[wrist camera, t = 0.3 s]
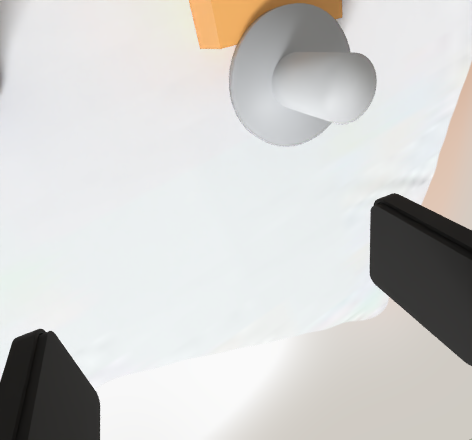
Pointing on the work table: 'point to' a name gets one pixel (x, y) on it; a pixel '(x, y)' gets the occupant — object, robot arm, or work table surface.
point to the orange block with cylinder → (287, 65)
